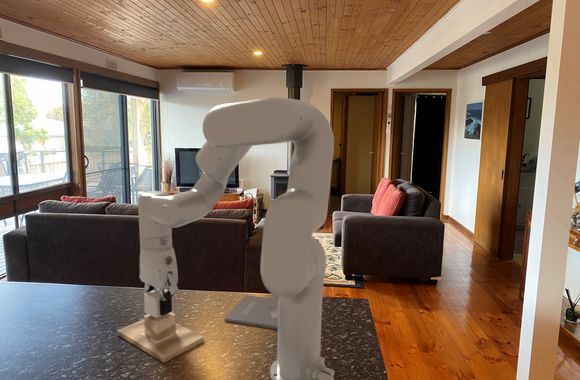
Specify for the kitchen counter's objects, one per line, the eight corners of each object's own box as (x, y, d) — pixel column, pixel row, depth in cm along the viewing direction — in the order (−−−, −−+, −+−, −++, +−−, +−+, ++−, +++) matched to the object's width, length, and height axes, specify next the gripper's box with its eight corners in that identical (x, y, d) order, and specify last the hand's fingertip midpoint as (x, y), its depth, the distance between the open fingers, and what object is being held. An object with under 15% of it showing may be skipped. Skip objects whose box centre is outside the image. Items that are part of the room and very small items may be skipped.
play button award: (245, 294, 129) (306, 302, 124) (245, 299, 129) (306, 307, 124) (224, 318, 113) (293, 328, 108) (224, 323, 114) (293, 333, 108)
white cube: (173, 310, 104) (172, 292, 103) (156, 318, 100) (155, 299, 99) (161, 305, 107) (160, 287, 106) (144, 312, 103) (143, 293, 102)
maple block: (175, 332, 105) (175, 314, 104) (157, 341, 100) (156, 322, 99) (162, 325, 108) (162, 308, 107) (144, 334, 104) (143, 315, 103)
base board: (203, 341, 103) (203, 336, 103) (163, 362, 94) (163, 357, 93) (157, 317, 115) (157, 313, 115) (117, 334, 106) (117, 330, 105)
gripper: (190, 244, 98) (192, 314, 101) (149, 232, 108) (152, 296, 111) (164, 252, 92) (167, 326, 95) (123, 238, 102) (127, 305, 105)
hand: (159, 309), depth 103 cm, fingers closed on white cube, 5 cm apart
